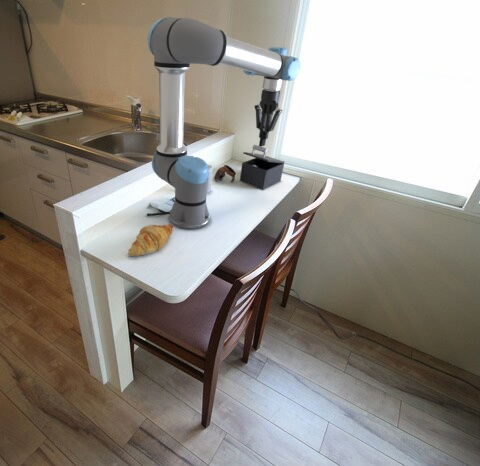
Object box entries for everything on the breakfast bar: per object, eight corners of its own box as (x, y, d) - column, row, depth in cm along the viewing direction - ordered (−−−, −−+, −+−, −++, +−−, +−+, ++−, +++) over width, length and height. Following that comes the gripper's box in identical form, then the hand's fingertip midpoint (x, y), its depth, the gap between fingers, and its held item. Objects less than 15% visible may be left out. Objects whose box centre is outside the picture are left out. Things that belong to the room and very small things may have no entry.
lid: (267, 161, 143) (271, 150, 141) (243, 153, 151) (246, 142, 149) (284, 163, 155) (287, 152, 153) (260, 155, 163) (263, 145, 161)
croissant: (136, 270, 102) (144, 257, 96) (115, 248, 103) (122, 234, 98) (177, 240, 116) (185, 227, 111) (157, 221, 118) (165, 207, 112)
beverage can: (197, 187, 149) (199, 163, 142) (211, 189, 148) (213, 164, 142) (195, 193, 144) (197, 168, 137) (210, 195, 143) (212, 169, 136)
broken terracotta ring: (216, 175, 164) (226, 162, 160) (230, 187, 162) (240, 174, 158) (207, 177, 153) (217, 163, 149) (221, 190, 152) (232, 176, 148)
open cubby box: (262, 189, 150) (266, 171, 145) (239, 180, 158) (242, 162, 153) (280, 181, 160) (284, 163, 155) (257, 173, 168) (260, 155, 163)
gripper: (289, 91, 132) (278, 147, 145) (263, 86, 140) (254, 140, 153) (280, 93, 128) (269, 150, 141) (253, 88, 135) (245, 143, 148)
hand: (261, 145), depth 147 cm, fingers closed
